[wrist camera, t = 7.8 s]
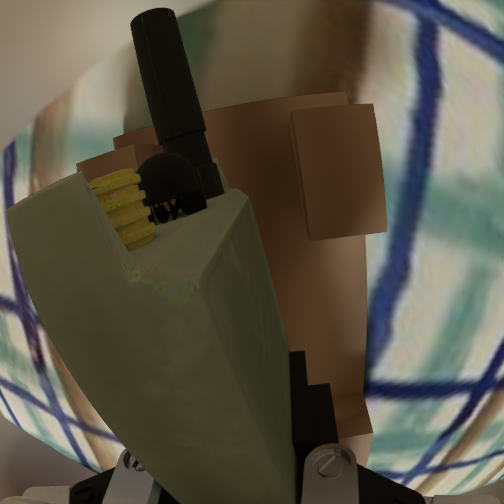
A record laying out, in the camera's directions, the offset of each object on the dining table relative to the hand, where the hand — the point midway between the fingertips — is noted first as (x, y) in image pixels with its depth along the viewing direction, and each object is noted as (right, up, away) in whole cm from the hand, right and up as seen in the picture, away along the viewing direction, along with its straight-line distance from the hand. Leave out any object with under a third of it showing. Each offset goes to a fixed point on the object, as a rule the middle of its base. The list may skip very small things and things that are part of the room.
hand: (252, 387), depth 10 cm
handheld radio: (+1, 0, +1) cm, 1 cm away
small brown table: (0, +2, +5) cm, 5 cm away
